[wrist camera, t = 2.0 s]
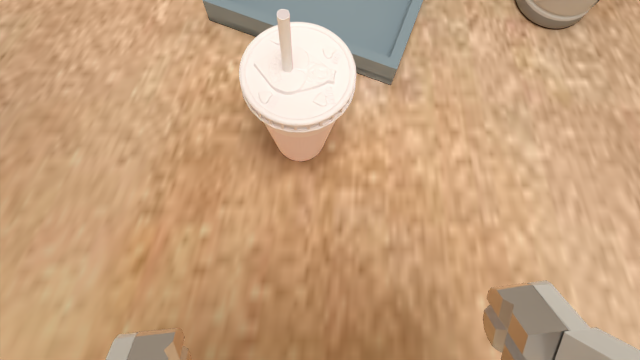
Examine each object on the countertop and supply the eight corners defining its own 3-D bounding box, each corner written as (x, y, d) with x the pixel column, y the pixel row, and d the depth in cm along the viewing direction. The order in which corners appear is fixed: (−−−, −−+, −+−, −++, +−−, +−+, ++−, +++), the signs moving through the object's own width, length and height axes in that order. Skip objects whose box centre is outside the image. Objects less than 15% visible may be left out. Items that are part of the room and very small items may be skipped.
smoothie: (267, 94, 31) (238, -54, 18) (347, 107, 31) (378, -33, 18) (251, 171, 30) (205, 69, 16) (335, 184, 30) (360, 94, 16)
